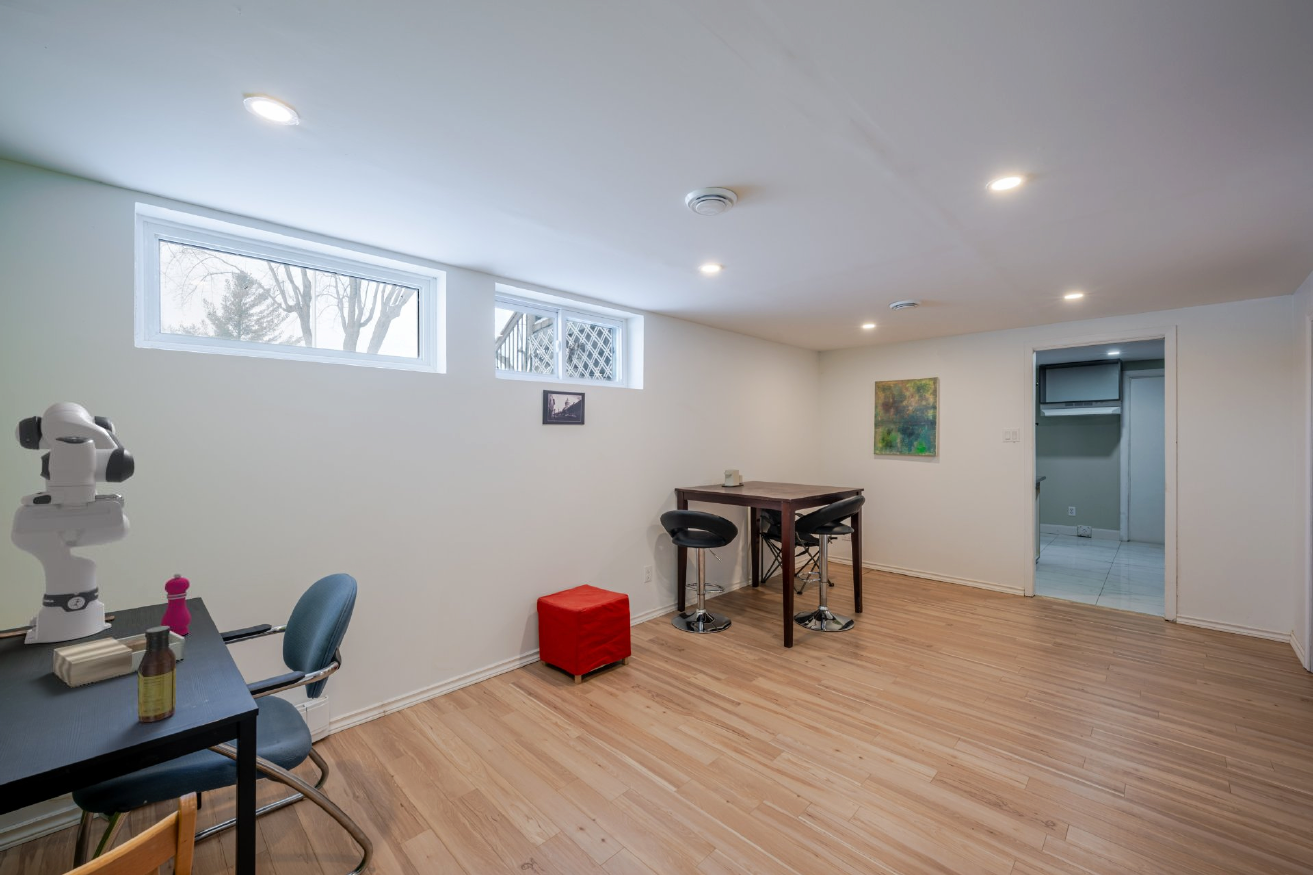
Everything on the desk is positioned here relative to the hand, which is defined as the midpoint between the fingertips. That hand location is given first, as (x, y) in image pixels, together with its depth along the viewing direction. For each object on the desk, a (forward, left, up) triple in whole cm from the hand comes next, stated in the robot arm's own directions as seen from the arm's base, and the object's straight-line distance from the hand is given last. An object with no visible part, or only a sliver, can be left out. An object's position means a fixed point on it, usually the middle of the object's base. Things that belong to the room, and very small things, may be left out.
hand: (70, 547), depth 144 cm
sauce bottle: (+54, +4, -33) cm, 64 cm away
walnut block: (+8, +9, -30) cm, 32 cm away
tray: (+8, +14, -33) cm, 37 cm away
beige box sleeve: (+8, +3, -33) cm, 34 cm away
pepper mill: (-10, +26, -33) cm, 43 cm away
